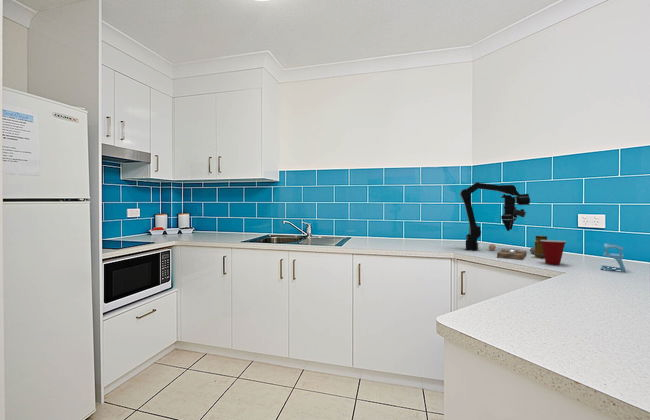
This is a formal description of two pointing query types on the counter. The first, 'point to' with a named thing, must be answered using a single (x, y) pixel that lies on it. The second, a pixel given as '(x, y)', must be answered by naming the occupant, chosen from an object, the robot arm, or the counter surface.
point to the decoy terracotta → (492, 247)
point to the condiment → (539, 247)
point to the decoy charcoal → (532, 250)
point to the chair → (616, 256)
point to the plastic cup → (553, 251)
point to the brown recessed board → (511, 254)
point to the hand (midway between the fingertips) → (509, 230)
